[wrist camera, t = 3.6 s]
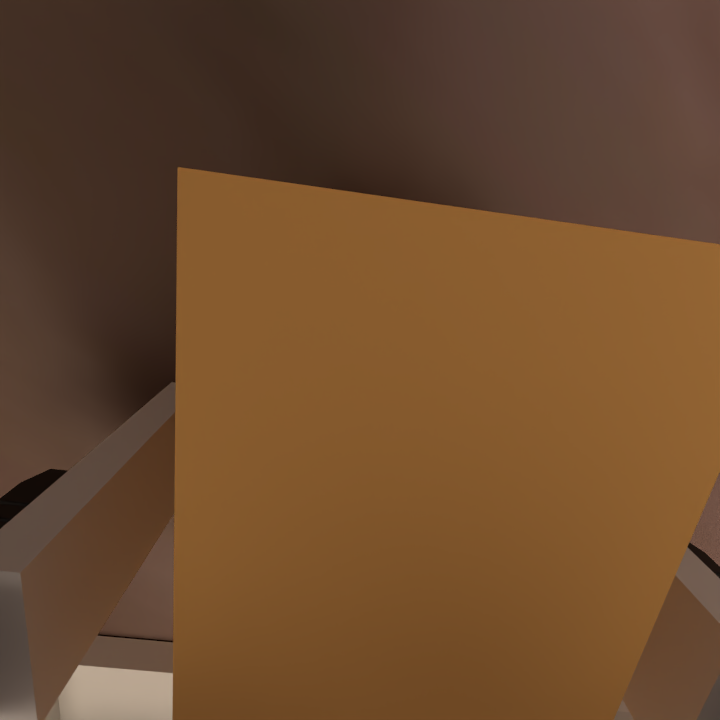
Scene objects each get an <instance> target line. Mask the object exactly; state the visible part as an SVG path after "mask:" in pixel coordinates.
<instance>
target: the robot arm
mask: <svg viewBox="0 0 720 720" xmlns="http://www.w3.org/2000/svg"><path fill="white" fill-rule="evenodd" d="M175 390H176V383H174V382H171V383H170V384H169V385H168V386H166V387H165V388H164V389H163V390H162V391H161V392H159V393H158V394H157V395H156V396H155V397H154V398H152V399H151V400H150V401H149V402H148V403H147V404H145V405H144V406H143V407H142V408H141V409H140V410H138V411H137V412H136V413H135V414H134V415H133V416H131V417H130V418H129V419H128V420H127V421H126V422H124V423H123V424H122V425H121V426H120V427H119V428H117V429H116V430H115V431H114V432H113V433H112V434H110V435H109V436H108V437H107V438H106V439H105V440H103V441H102V442H101V443H100V444H99V445H98V446H96V447H95V448H94V449H93V450H92V451H91V452H89V453H88V454H87V455H86V456H85V457H84V458H82V459H81V460H80V461H79V462H78V463H77V464H75V465H74V466H73V467H72V468H71V469H70V470H68V471H65V470H56V469H49V470H47V471H45V472H43V473H41V474H38V475H36V476H34V477H32V478H30V479H27V480H25V481H23V482H21V483H20V484H18V485H17V486H16V487H14V488H13V489H12V490H10V491H9V492H8V493H7V494H5V495H4V496H3V497H1V498H0V720H45V718H46V716H47V715H48V713H49V712H50V710H51V708H52V707H53V705H54V704H55V702H56V701H57V699H58V697H59V696H60V694H61V693H62V691H63V689H64V688H65V686H66V685H67V683H68V681H69V680H70V678H71V677H72V675H73V673H74V672H75V670H76V669H77V667H78V665H79V664H80V662H81V661H82V659H83V657H84V656H85V654H86V653H87V651H88V649H89V648H90V646H91V645H92V643H93V642H94V640H95V638H96V637H97V635H98V634H99V632H100V630H101V629H102V627H103V626H104V624H105V622H106V621H107V619H108V618H109V616H110V614H111V613H112V611H113V610H114V608H115V606H116V605H117V603H118V602H119V600H120V598H121V597H122V595H123V594H124V592H125V591H126V589H127V587H128V586H129V584H130V583H131V581H132V579H133V578H134V576H135V575H136V573H137V571H138V570H139V568H140V567H141V565H142V563H143V562H144V560H145V559H146V557H147V555H148V554H149V552H150V551H151V549H152V547H153V546H154V544H155V543H156V541H157V539H158V538H159V536H160V535H161V533H162V532H163V530H164V528H165V527H166V525H167V524H168V522H169V520H170V519H171V517H172V516H173V514H174V497H175ZM623 701H624V703H625V705H626V706H627V708H628V710H629V712H630V714H631V715H632V717H633V719H634V720H720V566H718V565H717V564H716V563H715V562H714V561H713V560H712V559H711V558H710V557H709V556H708V555H707V554H706V553H705V552H703V551H702V550H700V549H698V548H697V547H695V546H694V545H692V544H691V543H689V544H688V547H687V549H686V552H685V554H684V556H683V559H682V561H681V563H680V566H679V568H678V570H677V573H676V575H675V577H674V580H673V582H672V584H671V587H670V589H669V591H668V594H667V596H666V598H665V601H664V603H663V605H662V608H661V610H660V612H659V615H658V617H657V619H656V622H655V624H654V626H653V629H652V631H651V634H650V636H649V638H648V641H647V643H646V645H645V648H644V650H643V652H642V655H641V657H640V659H639V662H638V664H637V666H636V669H635V671H634V673H633V676H632V678H631V680H630V683H629V685H628V687H627V690H626V692H625V694H624V697H623Z"/></svg>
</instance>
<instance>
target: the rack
mask: <svg viewBox="0 0 720 720" xmlns="http://www.w3.org/2000/svg"><path fill="white" fill-rule="evenodd" d="M172 711H173V642H163V641H152V640H141V639H130V638H118V637H107V636H97V637H96V638H95V640H94V642H93V643H92V645H91V646H90V648H89V649H88V651H87V653H86V654H85V656H84V657H83V659H82V661H81V662H80V664H79V665H78V667H77V669H76V670H75V672H74V673H73V675H72V677H71V678H70V680H69V681H68V683H67V685H66V686H65V688H64V689H63V691H62V693H61V694H60V696H59V697H58V699H57V701H56V702H55V704H54V705H53V707H52V708H51V710H50V712H49V713H48V715H47V716H46V718H45V720H172ZM614 720H634V719H633V717H632V715H631V714H630V712H629V710H628V708H627V706H626V705H625V703H624V701H623V699H622V701H621V704H620V706H619V708H618V711H617V713H616V716H615V718H614Z"/></svg>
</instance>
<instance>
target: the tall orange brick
mask: <svg viewBox="0 0 720 720" xmlns="http://www.w3.org/2000/svg"><path fill="white" fill-rule="evenodd" d="M719 472H720V244H714V243H707V242H700V241H693V240H686V239H679V238H672V237H665V236H658V235H651V234H644V233H637V232H630V231H623V230H616V229H609V228H602V227H595V226H588V225H581V224H574V223H567V222H560V221H553V220H546V219H539V218H532V217H525V216H518V215H511V214H504V213H497V212H490V211H483V210H476V209H469V208H462V207H455V206H448V205H441V204H434V203H427V202H420V201H413V200H406V199H399V198H392V197H385V196H378V195H371V194H364V193H357V192H350V191H343V190H336V189H329V188H322V187H315V186H308V185H301V184H294V183H287V182H280V181H273V180H266V179H259V178H252V177H245V176H238V175H231V174H224V173H217V172H210V171H203V170H196V169H189V168H182V167H178V176H177V283H176V390H175V497H174V604H173V711H172V720H614V718H615V716H616V713H617V711H618V708H619V706H620V704H621V701H622V699H623V697H624V694H625V692H626V690H627V687H628V685H629V683H630V680H631V678H632V676H633V673H634V671H635V669H636V666H637V664H638V662H639V659H640V657H641V655H642V652H643V650H644V648H645V645H646V643H647V641H648V638H649V636H650V634H651V631H652V629H653V626H654V624H655V622H656V619H657V617H658V615H659V612H660V610H661V608H662V605H663V603H664V601H665V598H666V596H667V594H668V591H669V589H670V587H671V584H672V582H673V580H674V577H675V575H676V573H677V570H678V568H679V566H680V563H681V561H682V559H683V556H684V554H685V552H686V549H687V547H688V544H689V542H690V540H691V537H692V535H693V533H694V530H695V528H696V526H697V523H698V521H699V519H700V516H701V514H702V512H703V509H704V507H705V505H706V502H707V500H708V498H709V495H710V493H711V491H712V488H713V486H714V484H715V481H716V479H717V477H718V474H719Z"/></svg>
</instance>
